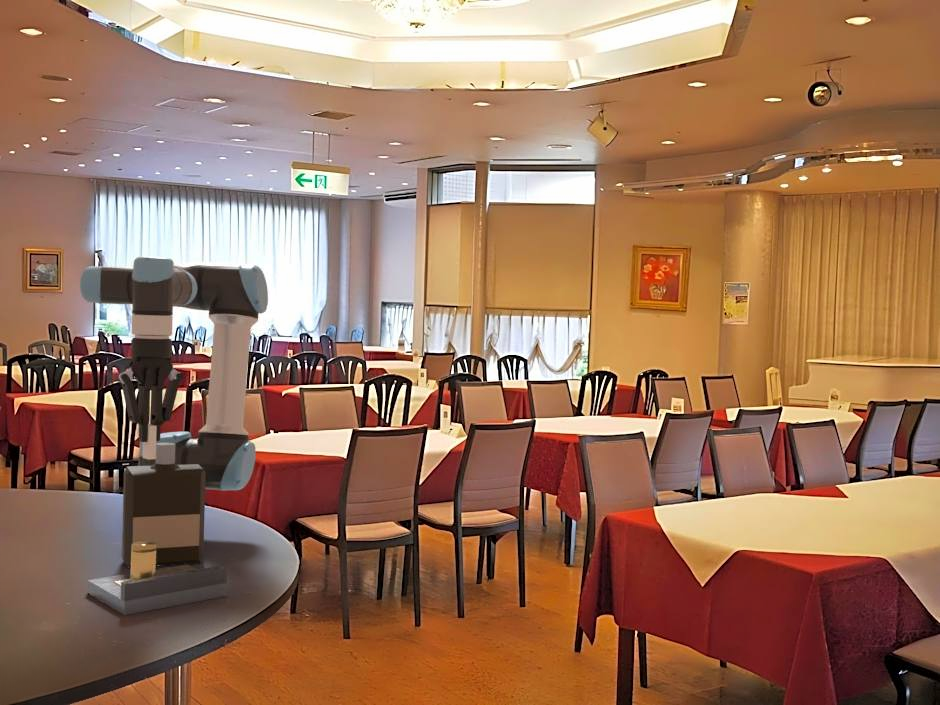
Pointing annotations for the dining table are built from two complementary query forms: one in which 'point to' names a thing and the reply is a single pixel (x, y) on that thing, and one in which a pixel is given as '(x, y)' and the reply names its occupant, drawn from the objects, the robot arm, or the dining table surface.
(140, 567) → the gold cylinder
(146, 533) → the brown box
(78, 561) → the dining table surface
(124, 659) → the dining table surface
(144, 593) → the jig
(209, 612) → the dining table surface
